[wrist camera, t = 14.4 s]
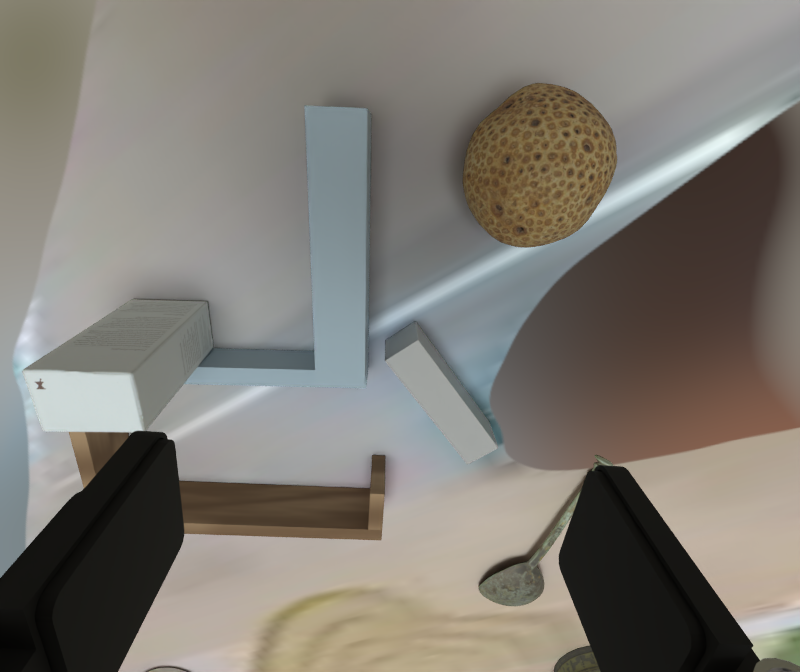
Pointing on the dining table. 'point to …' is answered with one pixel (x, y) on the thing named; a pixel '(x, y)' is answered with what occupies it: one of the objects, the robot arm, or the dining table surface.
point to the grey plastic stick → (439, 392)
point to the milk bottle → (167, 670)
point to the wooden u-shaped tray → (258, 500)
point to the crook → (322, 267)
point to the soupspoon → (527, 567)
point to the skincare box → (120, 367)
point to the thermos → (578, 661)
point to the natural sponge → (538, 166)
